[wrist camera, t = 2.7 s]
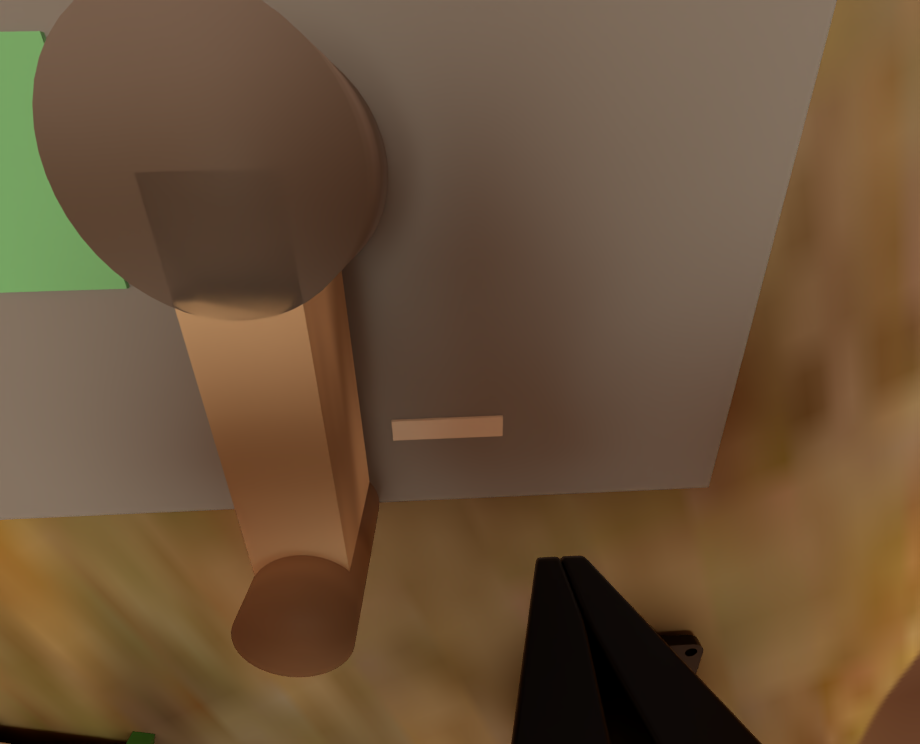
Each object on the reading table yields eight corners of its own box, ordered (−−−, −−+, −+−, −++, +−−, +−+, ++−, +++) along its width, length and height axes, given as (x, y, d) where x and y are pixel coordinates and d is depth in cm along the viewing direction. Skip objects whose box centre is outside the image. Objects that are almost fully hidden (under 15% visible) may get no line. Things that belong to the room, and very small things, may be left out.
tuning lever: (129, 37, 8) (-130, -72, 4) (376, 33, 8) (326, -76, 4) (265, 538, 13) (197, 682, 9) (417, 531, 13) (408, 670, 9)
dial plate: (684, 458, 15) (710, 489, 13) (4, 487, 14) (-46, 524, 13) (889, -450, 7) (999, -602, 6) (-535, -472, 7) (-804, -649, 5)
